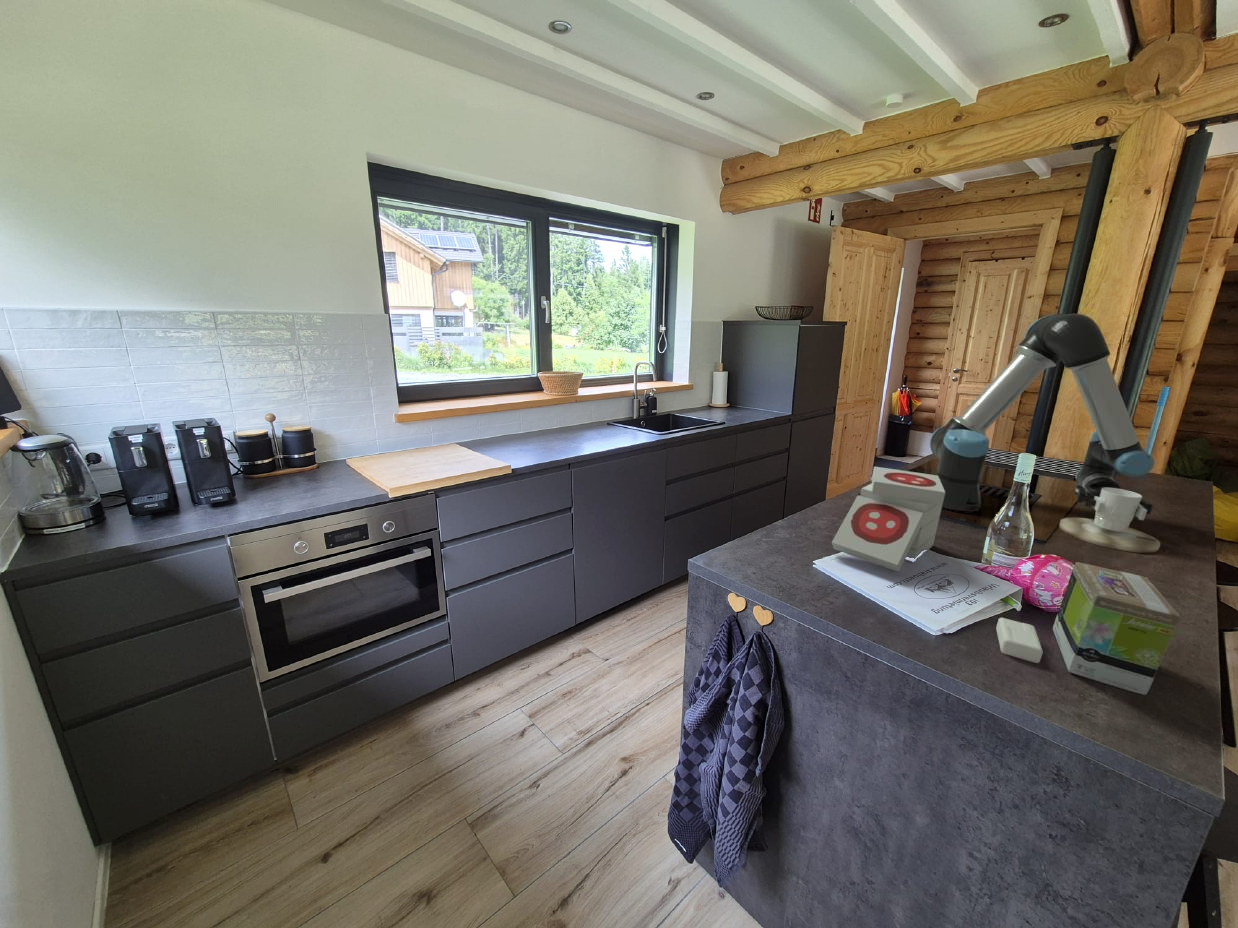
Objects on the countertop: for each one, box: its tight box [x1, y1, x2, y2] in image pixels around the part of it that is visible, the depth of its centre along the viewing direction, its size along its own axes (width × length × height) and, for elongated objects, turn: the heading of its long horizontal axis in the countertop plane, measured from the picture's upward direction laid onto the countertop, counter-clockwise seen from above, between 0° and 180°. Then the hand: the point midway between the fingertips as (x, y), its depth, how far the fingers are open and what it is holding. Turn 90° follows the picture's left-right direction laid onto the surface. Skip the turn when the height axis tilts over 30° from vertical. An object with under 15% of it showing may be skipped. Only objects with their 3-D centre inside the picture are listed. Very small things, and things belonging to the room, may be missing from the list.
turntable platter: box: [1058, 516, 1161, 554], centre depth 137 cm, size 20×20×2 cm
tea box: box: [1052, 561, 1181, 696], centre depth 84 cm, size 15×10×15 cm
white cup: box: [1094, 488, 1143, 531], centre depth 135 cm, size 8×8×10 cm
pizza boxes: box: [831, 466, 945, 573], centre depth 123 cm, size 19×30×18 cm, turn 133°
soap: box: [995, 617, 1044, 664], centre depth 89 cm, size 9×6×3 cm, turn 149°
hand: (1121, 511), depth 130 cm, fingers closed on white cup, 8 cm apart
